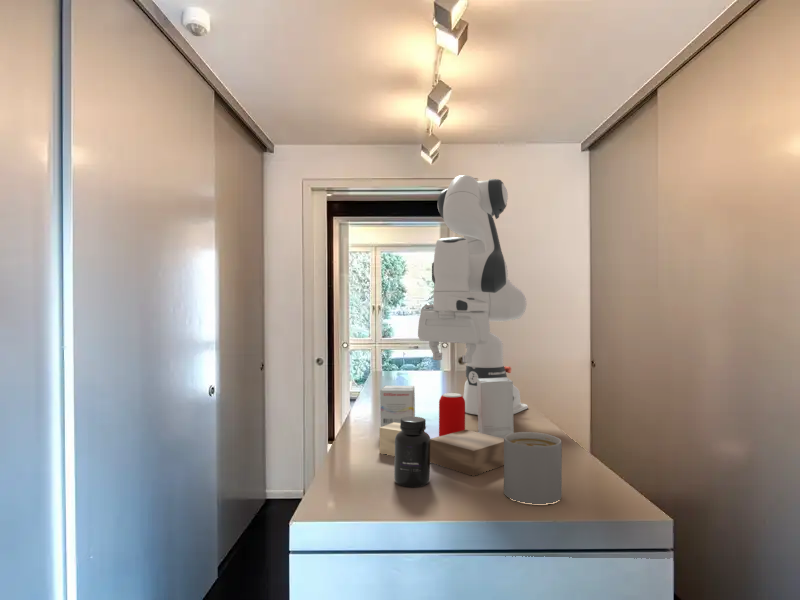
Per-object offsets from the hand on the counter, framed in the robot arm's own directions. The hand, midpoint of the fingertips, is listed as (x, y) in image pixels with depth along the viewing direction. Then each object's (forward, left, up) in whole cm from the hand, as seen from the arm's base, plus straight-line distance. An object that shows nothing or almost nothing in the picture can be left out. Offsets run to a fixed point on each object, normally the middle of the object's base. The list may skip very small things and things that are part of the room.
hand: (451, 361), depth 125 cm
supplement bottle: (+25, +12, -20) cm, 34 cm away
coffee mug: (+13, +30, -20) cm, 38 cm away
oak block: (+14, -4, -20) cm, 25 cm away
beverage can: (0, 0, -20) cm, 20 cm away
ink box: (+1, -18, -20) cm, 27 cm away
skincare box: (-13, +3, -20) cm, 24 cm away
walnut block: (+8, +12, -20) cm, 24 cm away
